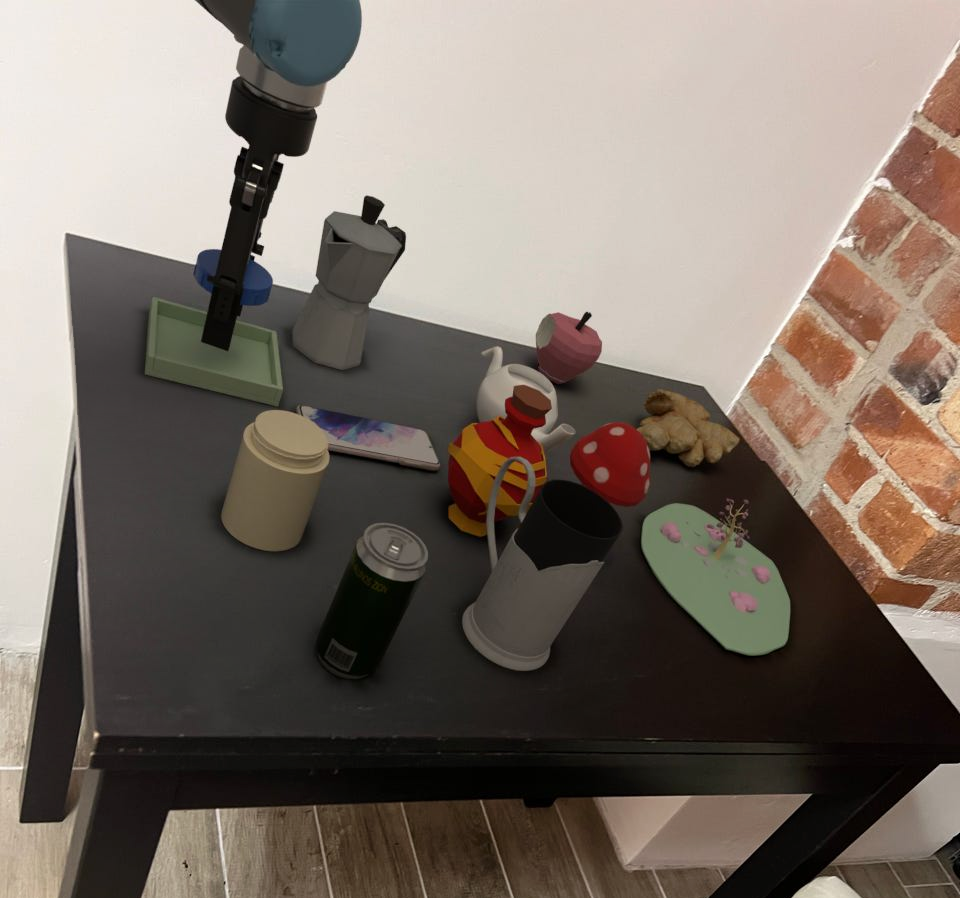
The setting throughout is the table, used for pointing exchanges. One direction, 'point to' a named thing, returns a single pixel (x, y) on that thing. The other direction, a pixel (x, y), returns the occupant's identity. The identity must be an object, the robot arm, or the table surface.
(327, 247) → the coffee maker
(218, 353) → the tray
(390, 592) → the beer can
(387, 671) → the table surface
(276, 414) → the jar
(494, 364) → the teapot
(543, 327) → the apple
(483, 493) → the potion bottle
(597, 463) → the decorative mushroom
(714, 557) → the plant
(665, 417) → the ginger root
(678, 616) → the table surface
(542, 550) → the glass holder
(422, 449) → the smartphone
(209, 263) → the lid
